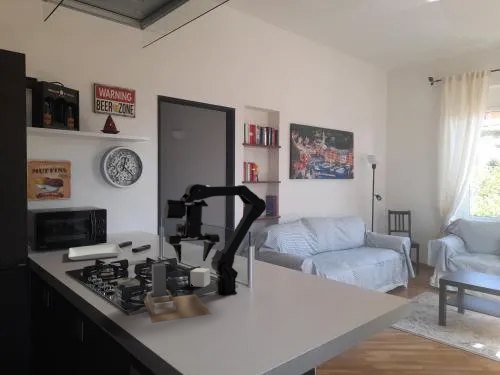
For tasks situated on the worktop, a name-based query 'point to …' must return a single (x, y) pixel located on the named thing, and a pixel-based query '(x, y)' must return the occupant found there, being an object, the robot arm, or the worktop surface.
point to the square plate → (94, 252)
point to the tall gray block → (158, 280)
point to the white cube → (200, 277)
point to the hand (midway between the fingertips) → (191, 261)
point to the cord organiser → (174, 307)
